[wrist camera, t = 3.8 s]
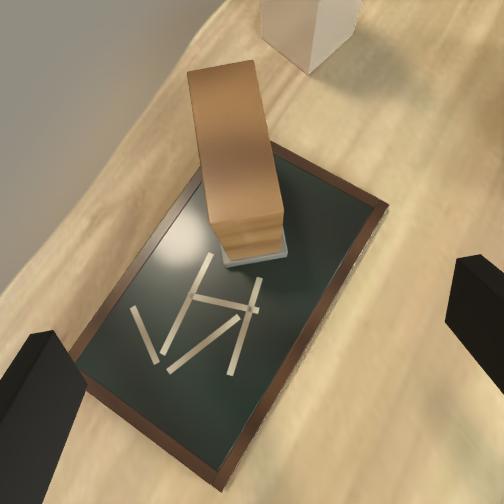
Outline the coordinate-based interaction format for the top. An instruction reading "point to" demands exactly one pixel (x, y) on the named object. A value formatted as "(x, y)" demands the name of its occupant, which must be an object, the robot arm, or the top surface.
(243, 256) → the eraser
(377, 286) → the top surface
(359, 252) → the chalkboard
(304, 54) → the soap dispenser
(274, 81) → the top surface
